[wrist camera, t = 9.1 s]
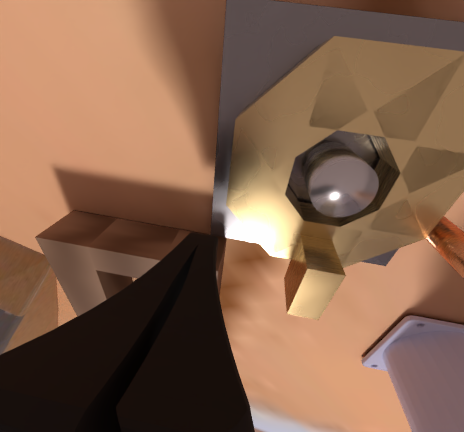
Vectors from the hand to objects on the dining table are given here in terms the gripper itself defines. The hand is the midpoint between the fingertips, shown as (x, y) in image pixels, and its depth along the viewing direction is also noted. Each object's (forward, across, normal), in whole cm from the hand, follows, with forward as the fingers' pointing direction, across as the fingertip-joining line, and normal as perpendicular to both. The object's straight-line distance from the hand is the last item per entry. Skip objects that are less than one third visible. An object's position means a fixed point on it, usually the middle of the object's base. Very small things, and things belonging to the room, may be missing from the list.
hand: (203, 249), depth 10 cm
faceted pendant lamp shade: (+3, -5, -3) cm, 7 cm away
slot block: (+4, +5, +10) cm, 12 cm away
